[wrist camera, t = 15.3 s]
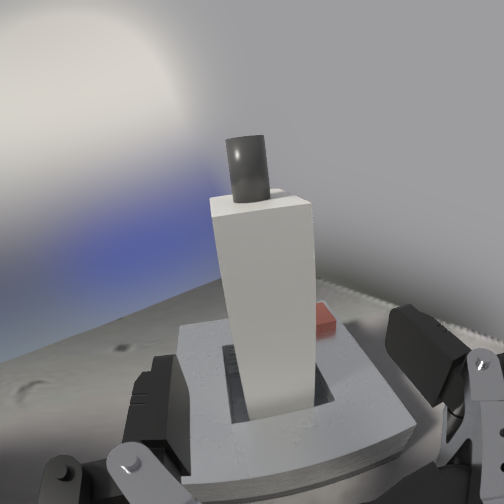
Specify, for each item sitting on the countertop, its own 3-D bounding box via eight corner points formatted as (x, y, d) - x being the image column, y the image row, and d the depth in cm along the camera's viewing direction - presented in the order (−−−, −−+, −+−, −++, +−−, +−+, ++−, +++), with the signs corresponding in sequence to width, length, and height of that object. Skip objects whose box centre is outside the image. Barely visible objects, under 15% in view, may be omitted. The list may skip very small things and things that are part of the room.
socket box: (191, 507, 11) (163, 478, 9) (190, 359, 25) (177, 317, 23) (398, 456, 12) (421, 415, 11) (323, 335, 26) (324, 292, 25)
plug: (253, 435, 15) (200, 138, 10) (241, 380, 21) (202, 146, 15) (312, 421, 16) (305, 128, 10) (291, 370, 21) (272, 137, 15)
